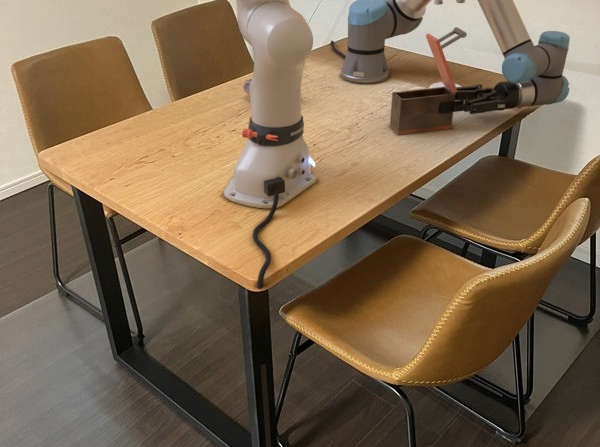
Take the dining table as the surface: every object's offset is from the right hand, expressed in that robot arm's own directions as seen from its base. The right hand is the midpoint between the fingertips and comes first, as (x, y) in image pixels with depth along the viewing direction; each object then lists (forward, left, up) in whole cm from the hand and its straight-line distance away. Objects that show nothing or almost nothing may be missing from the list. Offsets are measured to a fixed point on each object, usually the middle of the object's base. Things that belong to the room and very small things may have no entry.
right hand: (434, 103), depth 163 cm
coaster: (-17, +12, -6) cm, 21 cm away
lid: (0, 0, +11) cm, 11 cm away
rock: (-31, -38, -6) cm, 50 cm away
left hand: (0, +1, +25) cm, 26 cm away
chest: (0, -3, -6) cm, 7 cm away
